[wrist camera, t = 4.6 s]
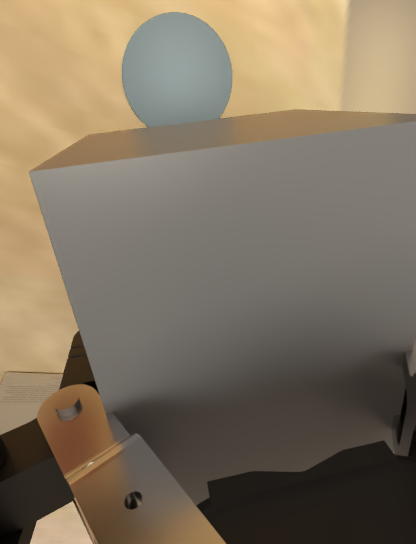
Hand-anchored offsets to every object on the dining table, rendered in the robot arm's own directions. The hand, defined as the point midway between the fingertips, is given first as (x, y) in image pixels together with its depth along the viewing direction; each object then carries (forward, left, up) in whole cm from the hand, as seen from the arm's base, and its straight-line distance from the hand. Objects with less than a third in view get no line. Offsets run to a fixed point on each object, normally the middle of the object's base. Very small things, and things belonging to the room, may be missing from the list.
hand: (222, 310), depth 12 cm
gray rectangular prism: (0, 0, -2) cm, 2 cm away
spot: (+7, +4, -16) cm, 18 cm away
